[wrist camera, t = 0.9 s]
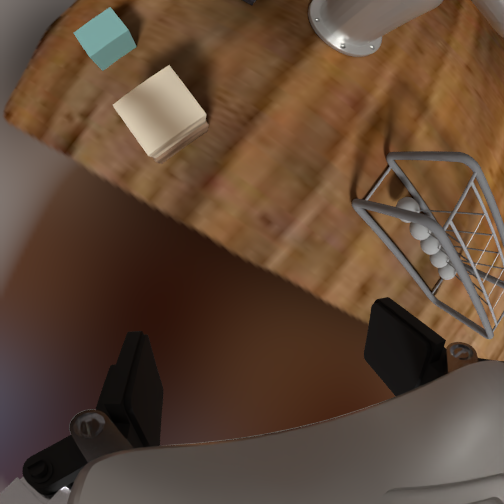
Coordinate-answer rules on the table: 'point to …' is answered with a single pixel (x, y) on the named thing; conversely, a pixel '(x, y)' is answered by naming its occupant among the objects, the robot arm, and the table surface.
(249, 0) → the notebook
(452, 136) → the table surface
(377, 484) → the robot arm
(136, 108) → the tower mid
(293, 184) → the table surface
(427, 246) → the newton's cradle
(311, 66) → the table surface
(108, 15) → the teal block
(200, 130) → the tower base
